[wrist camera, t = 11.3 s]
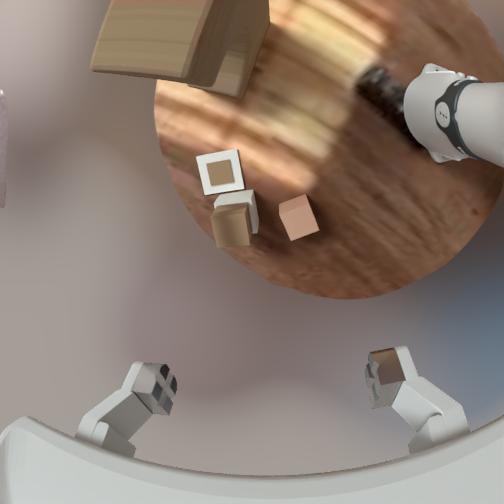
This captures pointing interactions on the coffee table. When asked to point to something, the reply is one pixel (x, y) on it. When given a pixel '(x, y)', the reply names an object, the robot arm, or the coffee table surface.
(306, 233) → the terracotta cube
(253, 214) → the base block
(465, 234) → the coffee table surface
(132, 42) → the decorative block
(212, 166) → the card
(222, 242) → the walnut cube
